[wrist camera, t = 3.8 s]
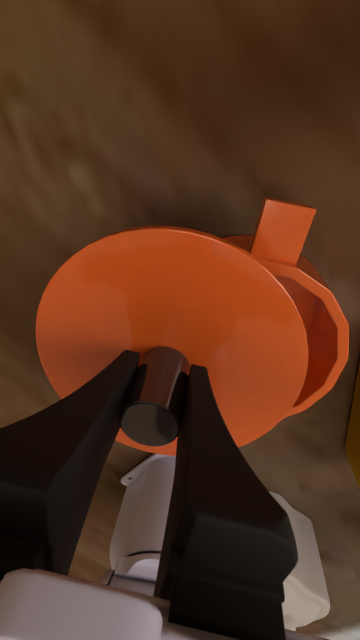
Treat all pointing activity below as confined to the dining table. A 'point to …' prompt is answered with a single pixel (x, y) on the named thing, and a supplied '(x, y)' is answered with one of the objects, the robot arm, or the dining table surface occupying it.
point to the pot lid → (175, 331)
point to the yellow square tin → (354, 432)
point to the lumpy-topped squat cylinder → (303, 575)
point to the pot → (301, 292)
